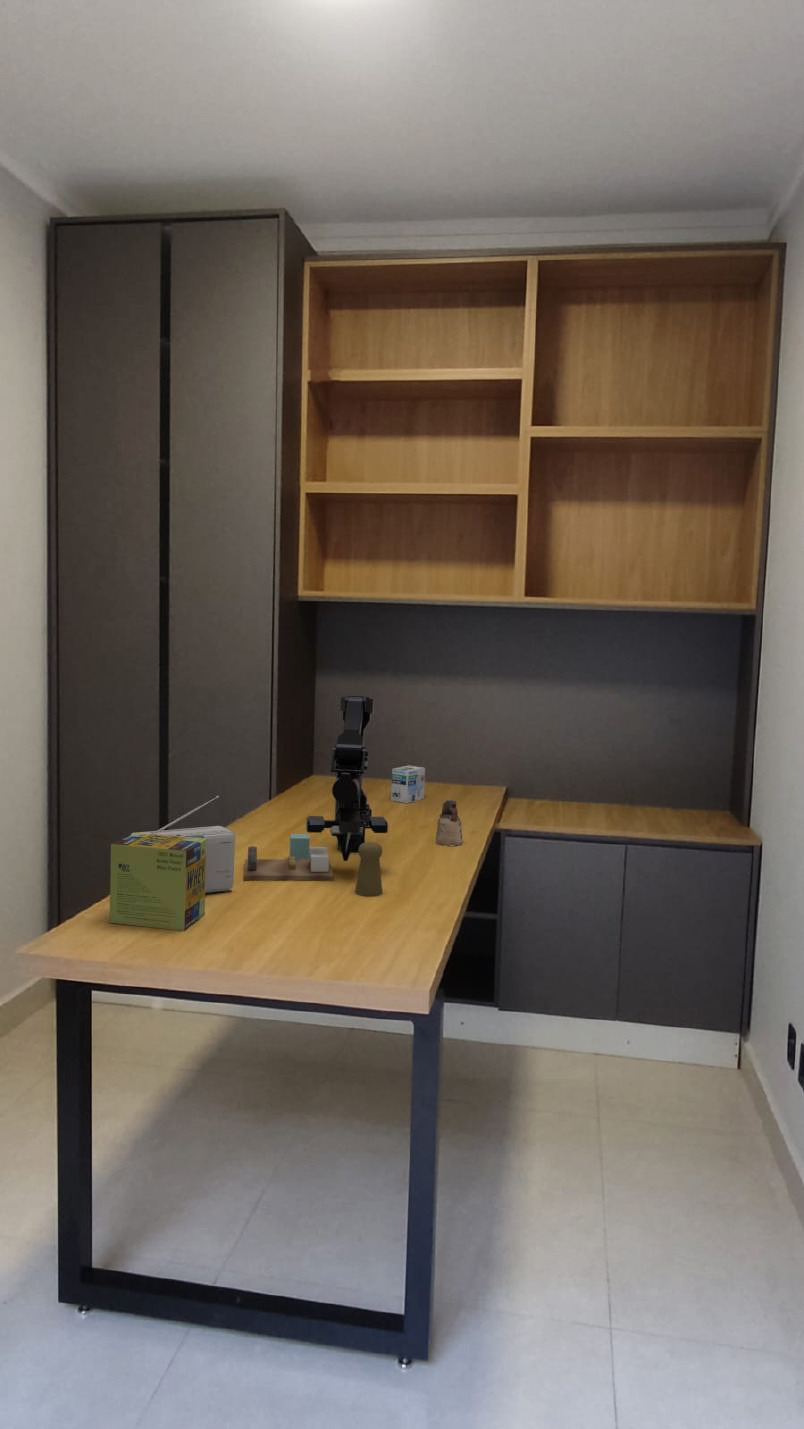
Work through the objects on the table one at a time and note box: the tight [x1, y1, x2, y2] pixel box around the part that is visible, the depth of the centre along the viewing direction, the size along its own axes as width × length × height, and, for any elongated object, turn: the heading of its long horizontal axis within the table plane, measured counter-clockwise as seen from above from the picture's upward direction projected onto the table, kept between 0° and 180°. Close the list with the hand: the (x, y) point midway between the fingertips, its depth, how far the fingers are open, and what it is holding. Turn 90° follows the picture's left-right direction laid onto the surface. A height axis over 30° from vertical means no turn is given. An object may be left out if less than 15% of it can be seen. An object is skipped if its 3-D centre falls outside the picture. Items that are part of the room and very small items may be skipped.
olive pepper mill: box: [354, 841, 383, 898], centre depth 206 cm, size 6×6×11 cm
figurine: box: [435, 799, 463, 846], centre depth 254 cm, size 7×7×12 cm
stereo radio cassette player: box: [130, 795, 236, 894], centre depth 199 cm, size 21×8×20 cm, turn 121°
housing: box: [309, 846, 330, 872], centre depth 220 cm, size 4×9×4 cm, turn 9°
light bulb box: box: [390, 764, 426, 804], centre depth 312 cm, size 11×7×11 cm, turn 147°
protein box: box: [109, 832, 206, 932], centre depth 182 cm, size 10×15×16 cm
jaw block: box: [289, 833, 310, 859], centre depth 231 cm, size 4×4×6 cm
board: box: [243, 846, 335, 882], centre depth 219 cm, size 20×14×5 cm
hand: (345, 860), depth 221 cm, fingers closed
